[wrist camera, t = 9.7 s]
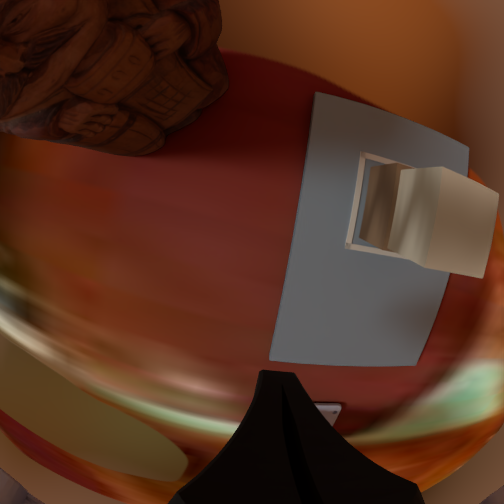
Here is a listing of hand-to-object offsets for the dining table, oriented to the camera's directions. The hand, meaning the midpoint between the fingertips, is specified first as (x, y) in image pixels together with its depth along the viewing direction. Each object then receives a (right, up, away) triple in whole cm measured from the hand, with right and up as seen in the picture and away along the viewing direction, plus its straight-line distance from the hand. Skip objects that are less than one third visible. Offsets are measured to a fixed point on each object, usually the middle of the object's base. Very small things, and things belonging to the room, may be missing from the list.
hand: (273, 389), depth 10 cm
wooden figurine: (-8, +16, +7) cm, 19 cm away
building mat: (+9, +6, +9) cm, 14 cm away
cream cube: (+9, +7, +4) cm, 12 cm away
